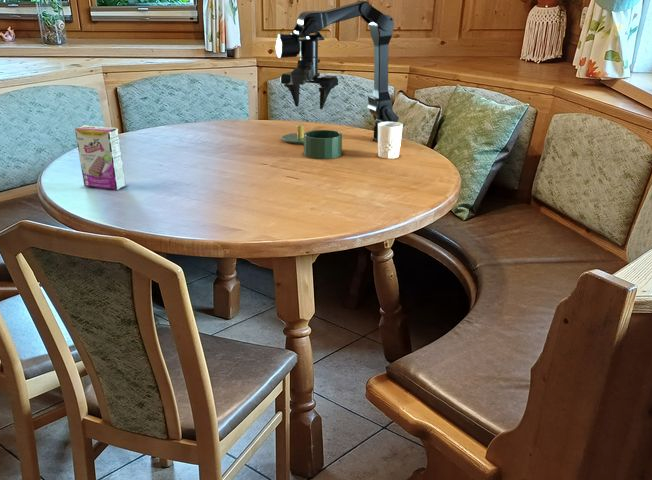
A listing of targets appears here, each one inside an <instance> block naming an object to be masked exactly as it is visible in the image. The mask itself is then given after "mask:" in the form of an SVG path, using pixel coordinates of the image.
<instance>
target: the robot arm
mask: <svg viewBox="0 0 652 480" xmlns="http://www.w3.org/2000/svg"><path fill="white" fill-rule="evenodd" d="M358 17H360V18H361V19H362V20H363V21H364V22H365V23H366V24H367V25H368V26H369V31H370V32H369V33H370V37H371V40H372V43H373V92H372V94H371V95H368V96H367V102H368V103H367V104H368V105H367V109H368V110H369V114H371V116H372V118H373V121H375V125H374V126H373V139H372V141H373V142H378V123H381V122H399V118H400V117H399V116H398V115H397V114H396V112H395V111H394V110H393V104H392V103H393V102H392V97H391V95H390V92H389V46H390V42H391V40H392V37H393V34H394V27H395V22H394V18H392V16H391V15H389V14H386V13H385V14H384V13H383V12H382V11H380V10H378V9H377V8H376V7H375V6H373V5H371V4H370V3H369V1H366V0H357V1H355V2H352V3H349V4H345V5H342V6H338V7H334V8H330V9H326V10H309V11H302V12H301V13H300V14H299V16H298V17H297V20H296V21H297V23H296V24H295V26H294V28H293V29H292V31H291V32H290V33H278V34H277V39H276V42H275V43H276V44H275V53H276V56H277V58H278V59H287V58H288V59H289V58H297V57H298V55H299V59H298V60H297V65H296V67H295V68H294V69H293V70H291V72H290V71H287V72H284V73H282V74H281V75H280V77H279V81H280V84H282V85H283V86H284V87H286V88H287V89H288V90H289V92H290V94H291V97H292V100H293V102H294V105H295V107H296V108H297V107H299V104H300V90H301V89H300V88H301V86H304V85H306V83H307V84H308V83H309V84H317V85H318V84H319V86H320V87H318V91H319V109H320V110H323V109H324V107H325V104H326V101H327V100H328V96H329V95H330V93H331V91H332V89H334V88H335V87H337V86H339V78H338V77H337V75H330V74H329V75H323V76H321V73H320V72H319V64H320V63H321V59H320V58H319V42H320V41H325V37H324V36H323V35H322V34H321V33H320V31H322V30H324V29H326V28H327V27H329V26H330V25H332V24H336V23H339V22H343V21H346V20H351V19H355V18H358ZM320 76H321V77H320Z"/></svg>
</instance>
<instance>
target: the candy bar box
mask: <svg viewBox="0 0 652 480" xmlns="http://www.w3.org/2000/svg"><path fill="white" fill-rule="evenodd" d="M74 132H75V139H76V144H77V150H78V156H79V162H80V169H81V174H82V181H83V186H84V187H86V188H95V189H96V188H97V189H104V190H113V191H118V190H119V191H120V189H122V188H124V187H126V178H125V173H124V172H125V171H124V164H123V158H122V157H123V156H122V150H121V149H122V148H121V142H120V141H121V140H120V134H119V128H118V127H110V126H99V125H88V124H84V125H80V126H78V127H75V128H74Z"/></svg>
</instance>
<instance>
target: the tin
mask: <svg viewBox="0 0 652 480" xmlns="http://www.w3.org/2000/svg"><path fill="white" fill-rule="evenodd" d="M304 133H305V134H304V144H303V153H304V156H305V157H307V158H310V159H314V160H316V159H317V160H331V159H336V158H339V157H341V156H342V154H343V133H341V132H340V131H337V130H331V129H315V130H309V131H306V132H304Z"/></svg>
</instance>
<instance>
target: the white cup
mask: <svg viewBox="0 0 652 480" xmlns="http://www.w3.org/2000/svg"><path fill="white" fill-rule="evenodd" d="M403 125H404V123H402V122H399V121H398V122H381V123H378V141H377V150H378V151H377V155H378V157H379V158H381V159H397V158H399V157H400V149H401V144H402V136H403Z"/></svg>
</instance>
